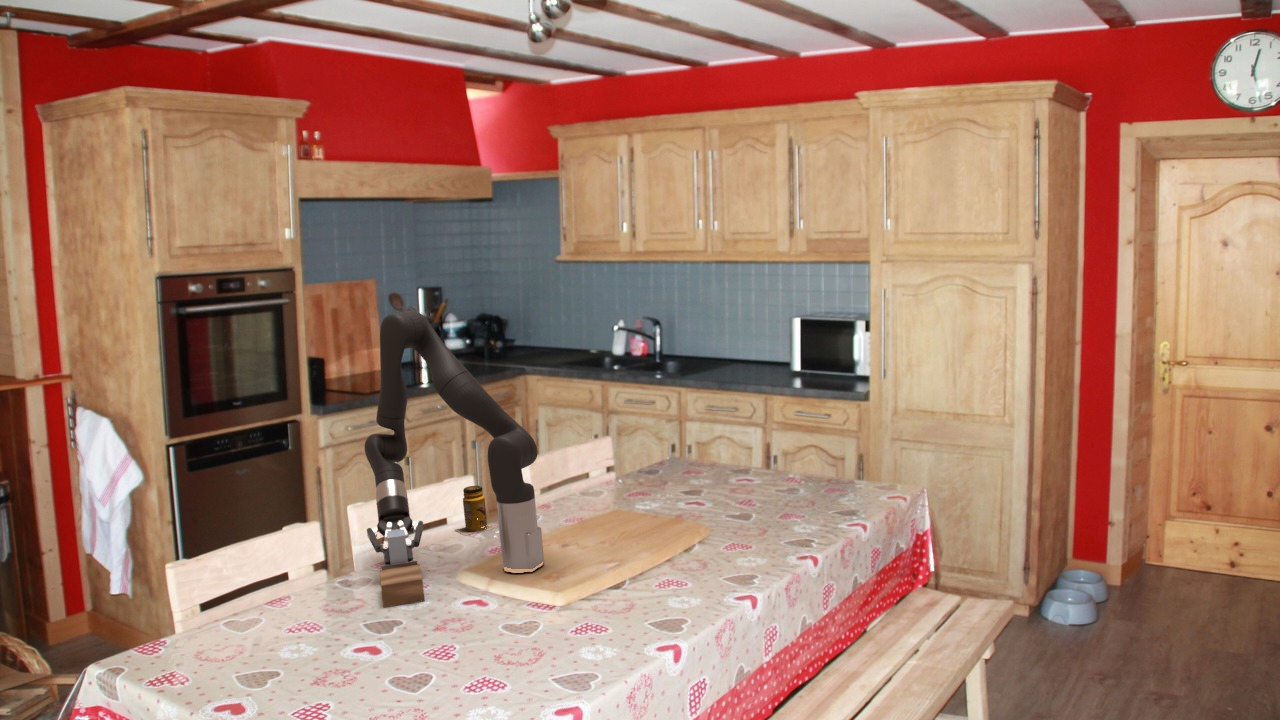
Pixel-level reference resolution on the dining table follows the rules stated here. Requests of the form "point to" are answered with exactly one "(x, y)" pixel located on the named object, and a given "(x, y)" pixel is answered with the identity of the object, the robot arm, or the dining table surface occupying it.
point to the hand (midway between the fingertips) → (399, 563)
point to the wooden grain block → (401, 584)
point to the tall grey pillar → (397, 546)
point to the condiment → (474, 511)
